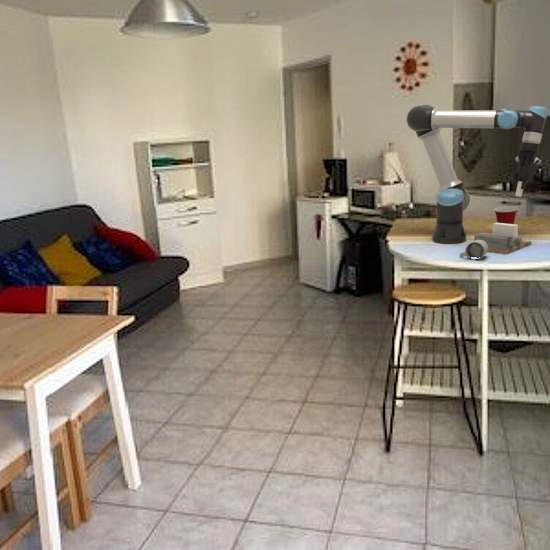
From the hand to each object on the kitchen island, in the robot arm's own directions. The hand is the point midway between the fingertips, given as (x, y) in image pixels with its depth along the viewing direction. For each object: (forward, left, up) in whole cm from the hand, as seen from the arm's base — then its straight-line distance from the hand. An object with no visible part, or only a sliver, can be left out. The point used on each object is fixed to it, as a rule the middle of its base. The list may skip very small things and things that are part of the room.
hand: (518, 196), depth 254 cm
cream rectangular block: (-9, -9, -18) cm, 23 cm away
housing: (-11, -11, -20) cm, 25 cm away
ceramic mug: (-29, -26, -20) cm, 43 cm away
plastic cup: (+2, +17, -20) cm, 26 cm away
